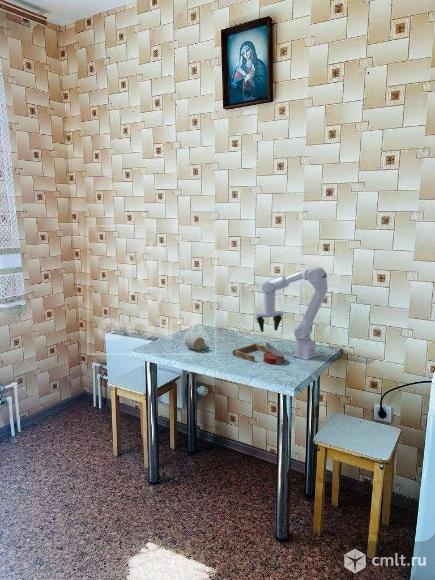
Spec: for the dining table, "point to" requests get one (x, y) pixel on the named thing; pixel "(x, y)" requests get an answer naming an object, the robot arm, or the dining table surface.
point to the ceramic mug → (195, 342)
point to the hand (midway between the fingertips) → (268, 330)
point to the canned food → (273, 355)
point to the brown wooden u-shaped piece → (241, 351)
